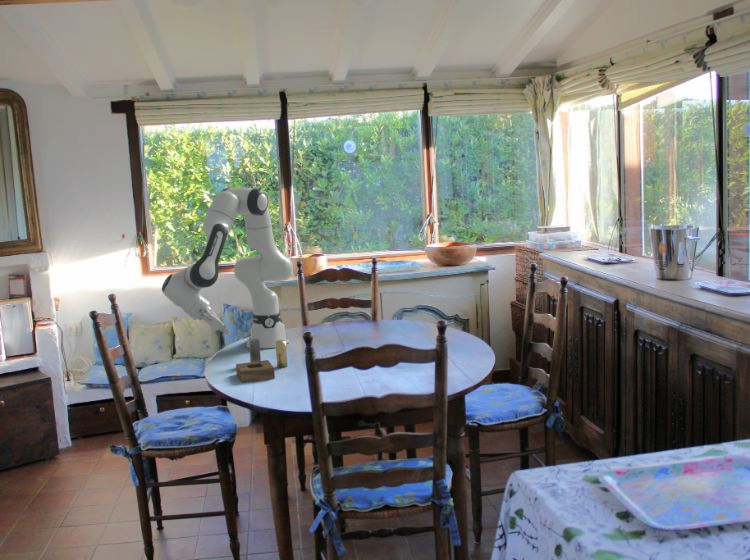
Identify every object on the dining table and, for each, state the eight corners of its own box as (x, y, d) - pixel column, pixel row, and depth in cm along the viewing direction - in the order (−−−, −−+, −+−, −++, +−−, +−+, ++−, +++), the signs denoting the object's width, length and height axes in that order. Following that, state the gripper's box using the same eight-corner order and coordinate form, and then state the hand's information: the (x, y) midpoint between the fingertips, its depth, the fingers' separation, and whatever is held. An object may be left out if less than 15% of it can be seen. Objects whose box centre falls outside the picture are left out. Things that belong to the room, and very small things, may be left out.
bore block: (236, 374, 270) (236, 363, 269) (268, 370, 274) (267, 360, 273) (241, 382, 259) (241, 371, 258) (274, 378, 262) (274, 367, 262)
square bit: (250, 364, 284) (248, 339, 283) (259, 362, 285) (257, 338, 284) (251, 366, 281) (250, 341, 279) (261, 365, 282) (259, 340, 280)
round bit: (276, 365, 280) (274, 340, 278) (286, 364, 281) (284, 339, 279) (278, 368, 276) (276, 342, 274) (288, 367, 277) (287, 341, 276)
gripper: (207, 306, 264) (236, 329, 268) (201, 297, 283) (228, 319, 287) (195, 319, 263) (224, 342, 267) (190, 310, 282) (218, 331, 287)
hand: (226, 330), depth 278 cm, fingers open, 8 cm apart
